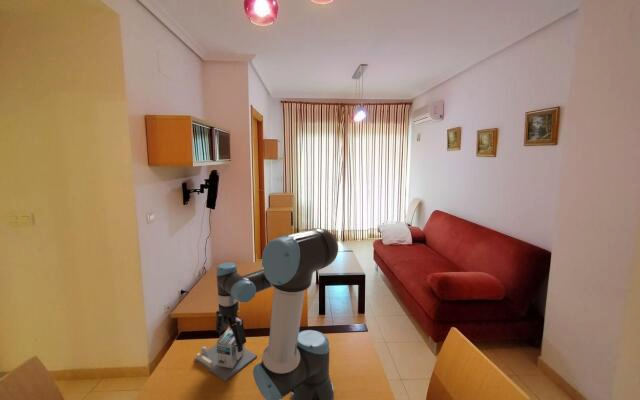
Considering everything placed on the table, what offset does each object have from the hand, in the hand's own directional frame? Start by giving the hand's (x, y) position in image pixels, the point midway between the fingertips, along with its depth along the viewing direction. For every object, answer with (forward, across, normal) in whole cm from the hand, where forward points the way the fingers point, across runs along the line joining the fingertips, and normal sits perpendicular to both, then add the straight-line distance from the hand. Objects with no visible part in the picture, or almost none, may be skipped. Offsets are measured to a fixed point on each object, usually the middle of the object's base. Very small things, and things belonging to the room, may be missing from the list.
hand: (231, 353), depth 121 cm
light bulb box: (+3, 0, 0) cm, 3 cm away
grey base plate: (+4, +4, 0) cm, 6 cm away
